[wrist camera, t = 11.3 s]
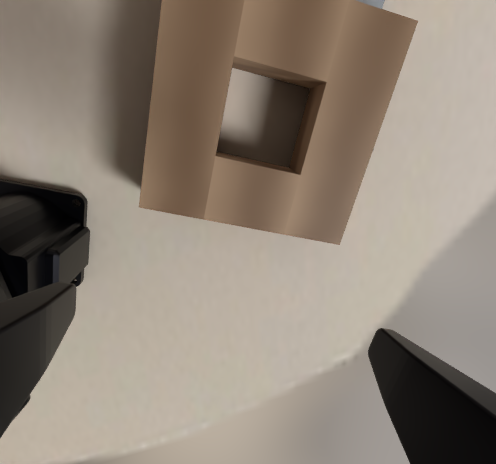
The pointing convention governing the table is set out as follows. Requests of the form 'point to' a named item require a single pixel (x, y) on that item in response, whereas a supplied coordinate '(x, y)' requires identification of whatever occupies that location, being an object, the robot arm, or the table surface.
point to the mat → (373, 3)
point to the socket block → (284, 69)
